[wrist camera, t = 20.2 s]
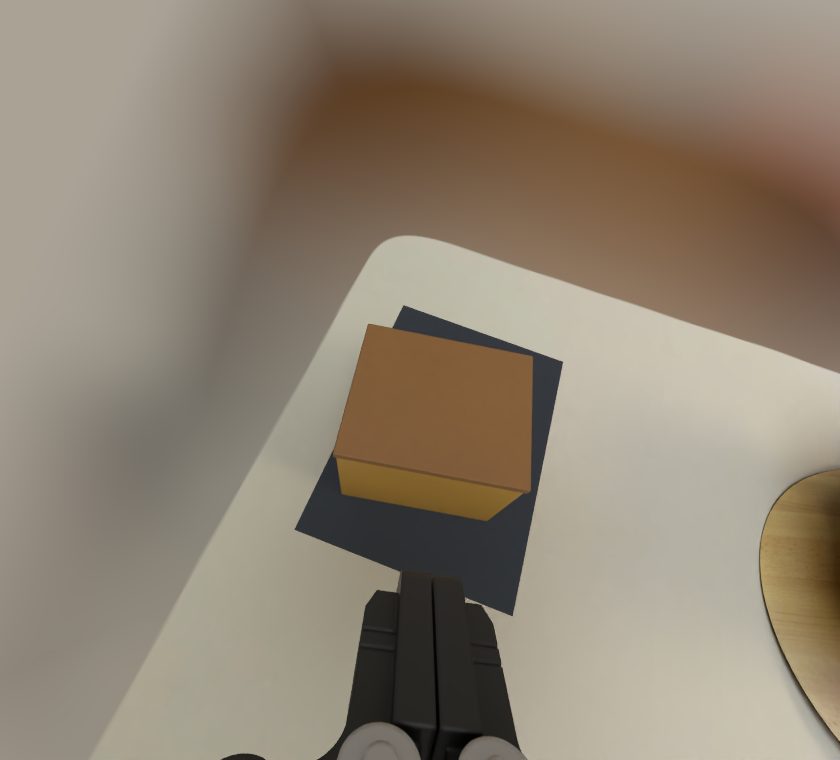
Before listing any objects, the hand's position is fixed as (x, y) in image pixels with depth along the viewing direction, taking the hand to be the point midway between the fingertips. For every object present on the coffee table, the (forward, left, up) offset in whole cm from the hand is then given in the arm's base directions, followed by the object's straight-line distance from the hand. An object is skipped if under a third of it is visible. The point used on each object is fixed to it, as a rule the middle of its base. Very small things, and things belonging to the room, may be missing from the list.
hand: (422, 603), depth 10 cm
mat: (0, +14, -20) cm, 24 cm away
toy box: (-1, +11, -20) cm, 23 cm away
